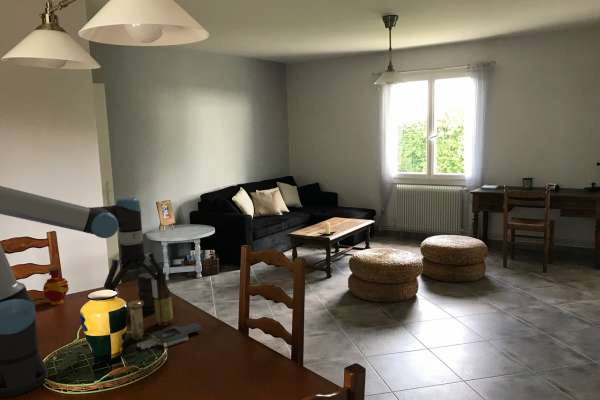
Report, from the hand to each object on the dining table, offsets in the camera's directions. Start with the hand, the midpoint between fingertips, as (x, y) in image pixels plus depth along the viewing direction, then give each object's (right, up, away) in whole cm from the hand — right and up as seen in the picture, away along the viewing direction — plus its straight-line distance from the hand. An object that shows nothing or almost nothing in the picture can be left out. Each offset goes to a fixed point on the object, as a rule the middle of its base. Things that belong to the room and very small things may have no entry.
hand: (136, 302), depth 163 cm
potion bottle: (-49, -9, +40) cm, 64 cm away
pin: (0, -13, +2) cm, 13 cm away
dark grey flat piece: (+12, -13, 0) cm, 18 cm away
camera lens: (-4, -10, +28) cm, 30 cm away
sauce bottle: (+6, -12, +14) cm, 19 cm away
